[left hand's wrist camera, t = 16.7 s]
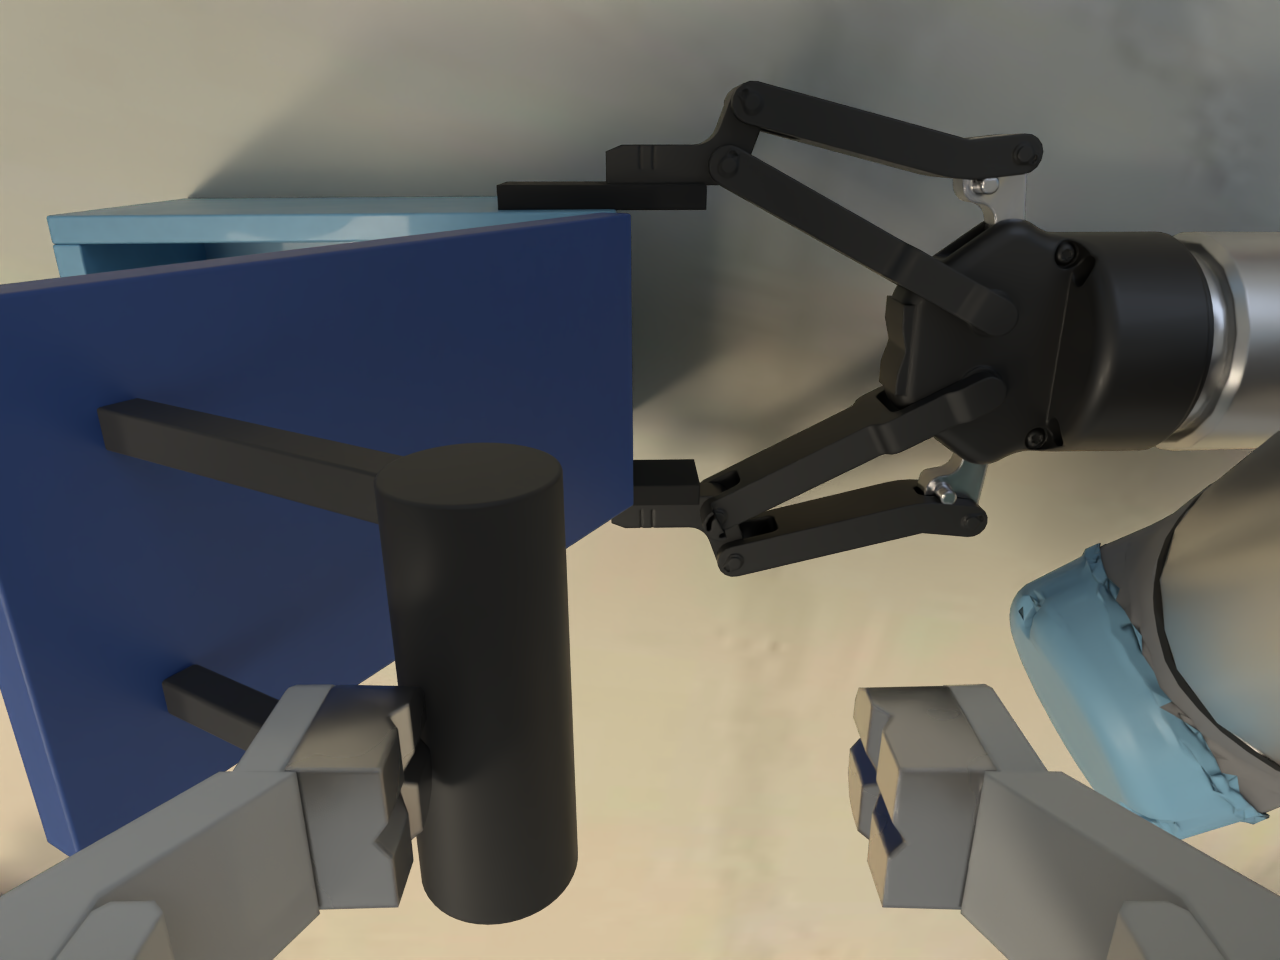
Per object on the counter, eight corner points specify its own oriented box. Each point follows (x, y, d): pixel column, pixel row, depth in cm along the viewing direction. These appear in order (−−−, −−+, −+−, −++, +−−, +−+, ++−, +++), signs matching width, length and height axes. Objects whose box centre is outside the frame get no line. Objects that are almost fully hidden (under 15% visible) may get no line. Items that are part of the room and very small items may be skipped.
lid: (46, 843, 15) (464, 1126, 11) (-124, 298, 12) (378, 385, 7) (607, 499, 30) (881, 559, 25) (601, 212, 26) (915, 223, 22)
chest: (225, 423, 38) (112, 503, 30) (185, 198, 35) (45, 215, 26) (619, 418, 38) (620, 495, 30) (616, 195, 35) (616, 211, 27)
